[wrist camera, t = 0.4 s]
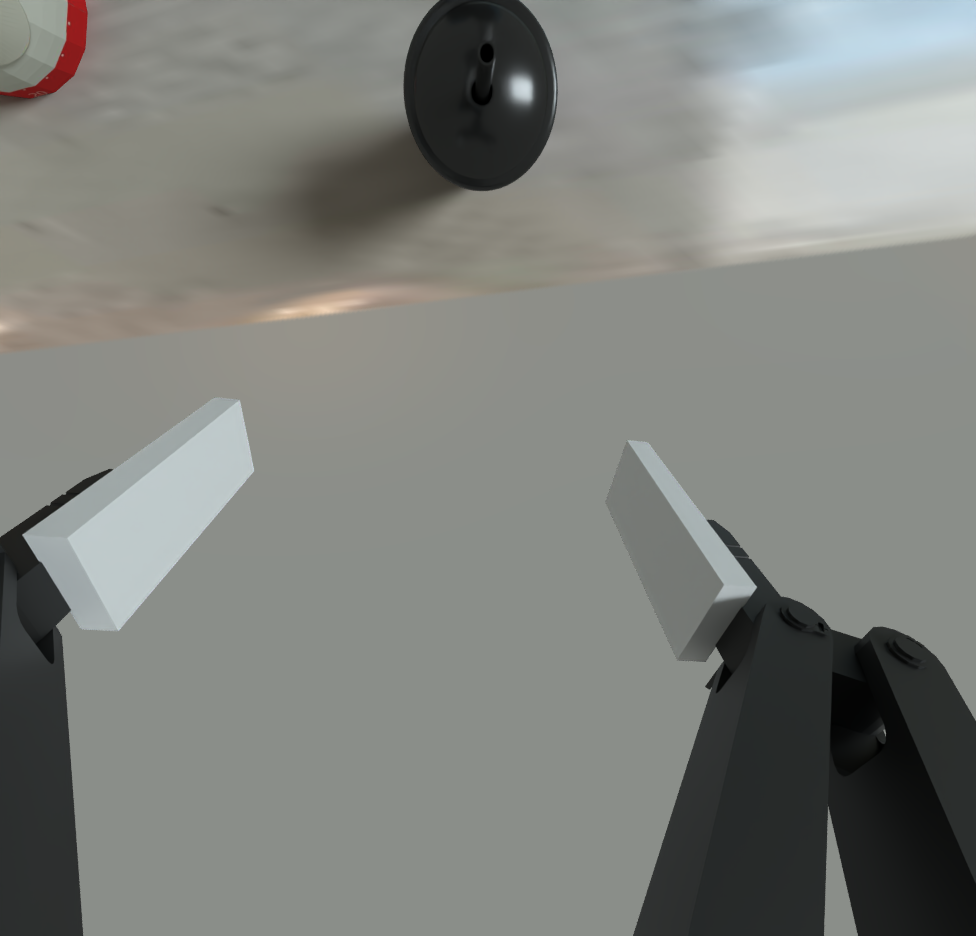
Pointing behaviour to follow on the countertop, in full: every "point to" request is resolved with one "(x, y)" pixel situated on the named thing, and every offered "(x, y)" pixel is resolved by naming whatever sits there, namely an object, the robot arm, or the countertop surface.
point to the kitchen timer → (40, 45)
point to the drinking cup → (480, 91)
